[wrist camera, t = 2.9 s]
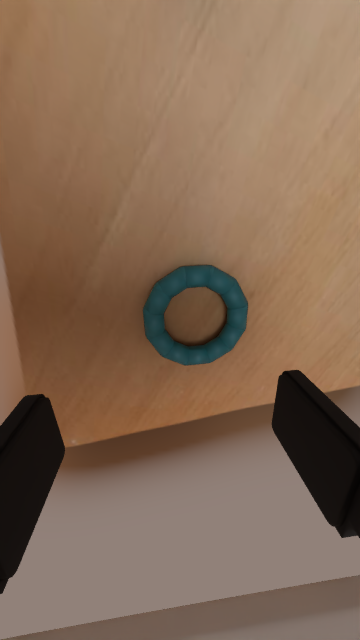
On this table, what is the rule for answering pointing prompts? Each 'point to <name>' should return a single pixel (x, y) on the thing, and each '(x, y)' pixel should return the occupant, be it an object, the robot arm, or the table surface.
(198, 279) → the ring
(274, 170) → the table surface
